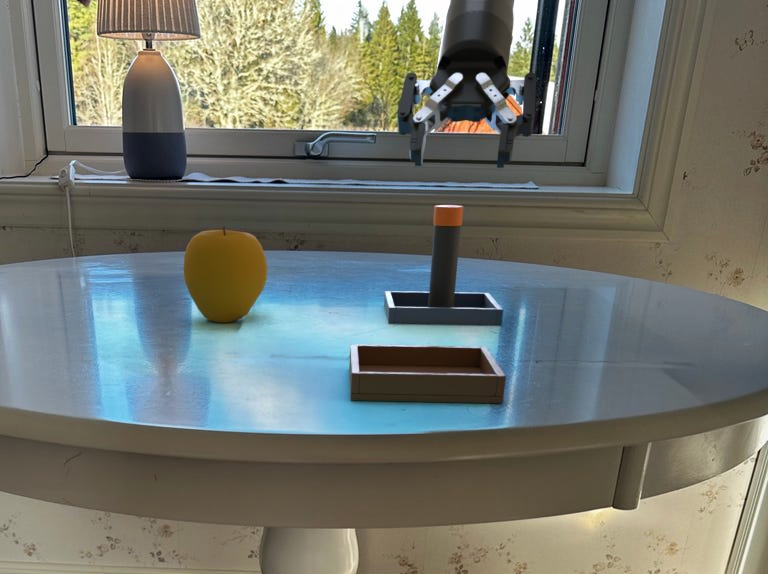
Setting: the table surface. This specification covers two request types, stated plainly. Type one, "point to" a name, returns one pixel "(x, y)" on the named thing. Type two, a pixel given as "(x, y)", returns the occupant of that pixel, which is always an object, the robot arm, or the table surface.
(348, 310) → the table surface
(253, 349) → the table surface
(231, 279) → the apple
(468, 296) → the grey tray
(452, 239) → the marker
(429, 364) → the walnut tray
